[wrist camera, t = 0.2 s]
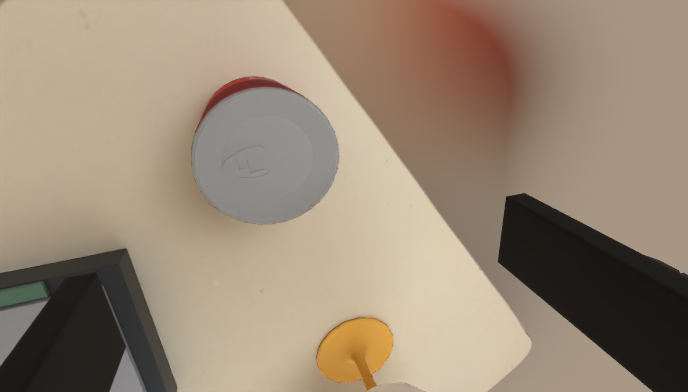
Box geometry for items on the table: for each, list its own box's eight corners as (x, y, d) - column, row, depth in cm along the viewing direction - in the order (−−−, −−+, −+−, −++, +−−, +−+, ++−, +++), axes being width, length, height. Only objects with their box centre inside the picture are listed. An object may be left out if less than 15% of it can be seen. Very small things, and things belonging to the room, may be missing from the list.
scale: (-116, 296, 26) (-156, 324, 24) (126, 248, 30) (116, 268, 27) (-13, 442, 32) (-36, 478, 30) (177, 387, 36) (173, 415, 33)
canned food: (182, 105, 27) (156, 135, 18) (275, 56, 28) (301, 58, 18) (237, 187, 31) (242, 250, 21) (319, 142, 31) (361, 182, 22)
